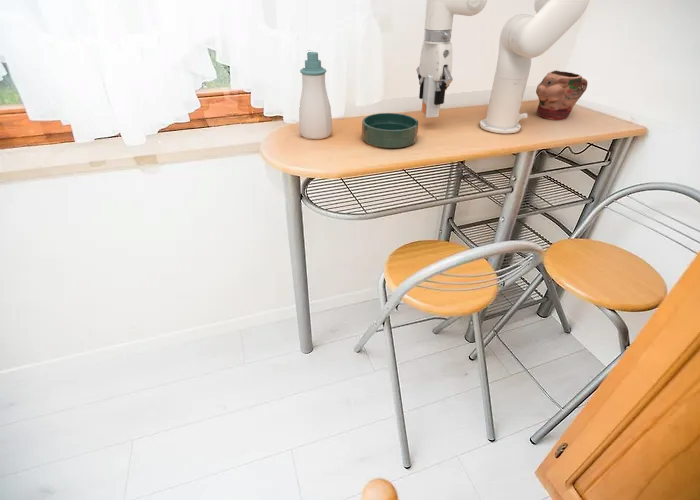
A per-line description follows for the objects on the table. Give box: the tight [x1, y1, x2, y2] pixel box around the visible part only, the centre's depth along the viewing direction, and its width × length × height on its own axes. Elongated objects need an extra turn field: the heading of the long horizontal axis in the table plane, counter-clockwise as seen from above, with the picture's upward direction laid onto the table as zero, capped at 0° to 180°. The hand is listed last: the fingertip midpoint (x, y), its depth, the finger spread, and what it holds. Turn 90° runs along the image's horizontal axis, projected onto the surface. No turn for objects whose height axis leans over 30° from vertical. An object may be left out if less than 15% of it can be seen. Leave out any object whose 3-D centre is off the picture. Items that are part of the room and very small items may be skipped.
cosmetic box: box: [421, 75, 443, 119], centre depth 122 cm, size 6×4×12 cm
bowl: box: [361, 112, 419, 149], centre depth 118 cm, size 16×16×6 cm
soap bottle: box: [298, 51, 333, 140], centre depth 115 cm, size 10×10×23 cm
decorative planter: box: [535, 70, 589, 121], centre depth 136 cm, size 20×12×14 cm, turn 114°
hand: (431, 100), depth 123 cm, fingers closed on cosmetic box, 7 cm apart
